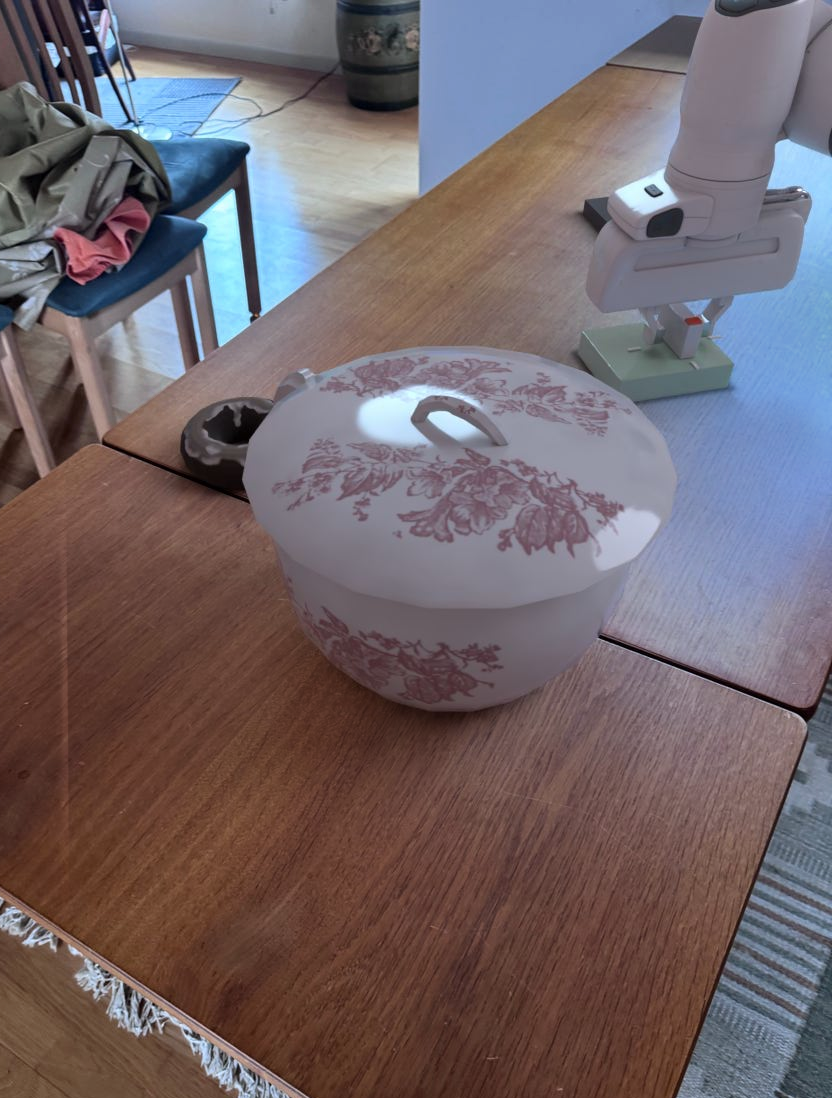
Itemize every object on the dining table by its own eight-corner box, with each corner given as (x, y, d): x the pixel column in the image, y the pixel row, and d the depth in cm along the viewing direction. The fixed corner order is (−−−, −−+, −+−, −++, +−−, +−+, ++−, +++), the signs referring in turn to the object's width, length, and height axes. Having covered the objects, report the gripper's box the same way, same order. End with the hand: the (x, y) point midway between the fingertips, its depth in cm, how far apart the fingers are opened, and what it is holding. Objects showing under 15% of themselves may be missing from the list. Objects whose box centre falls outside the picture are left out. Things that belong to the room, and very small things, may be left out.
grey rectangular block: (654, 330, 94) (662, 295, 91) (669, 327, 94) (677, 293, 92) (680, 359, 90) (689, 324, 87) (695, 357, 90) (704, 322, 88)
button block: (666, 205, 122) (673, 174, 119) (701, 236, 115) (709, 204, 112) (582, 216, 120) (586, 185, 118) (612, 248, 114) (618, 216, 111)
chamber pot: (674, 765, 61) (769, 530, 46) (268, 796, 61) (228, 568, 45) (576, 504, 80) (620, 276, 65) (266, 525, 79) (237, 300, 64)
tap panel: (690, 339, 98) (697, 311, 96) (737, 389, 92) (746, 360, 89) (576, 356, 97) (581, 328, 94) (615, 408, 90) (621, 379, 88)
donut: (332, 456, 86) (330, 420, 83) (238, 515, 81) (232, 478, 78) (251, 410, 92) (247, 375, 89) (159, 462, 86) (150, 426, 83)
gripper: (799, 170, 85) (755, 310, 95) (592, 195, 83) (570, 336, 93) (837, 197, 81) (787, 339, 91) (619, 224, 78) (593, 367, 88)
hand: (676, 338), depth 92 cm, fingers open, 4 cm apart
